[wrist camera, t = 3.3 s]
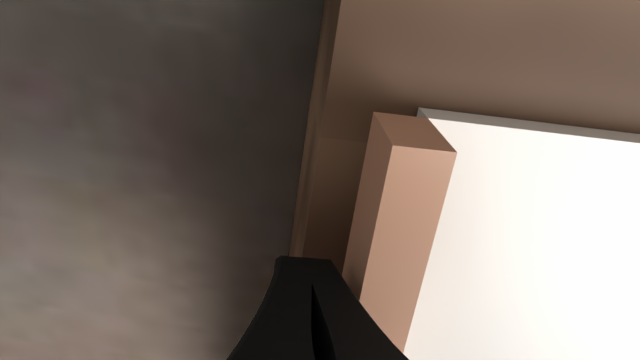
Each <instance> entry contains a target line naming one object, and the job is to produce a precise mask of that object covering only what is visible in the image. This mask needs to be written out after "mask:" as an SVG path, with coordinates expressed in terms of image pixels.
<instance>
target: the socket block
mask: <svg viewBox="0 0 640 360" xmlns="http://www.w3.org/2000/svg"><path fill="white" fill-rule="evenodd" d="M419 107H420V108H428V109H436V110H445V111H453V112H461V113H469V114H478V115H486V116H494V117H502V118H511V119H519V120H527V121H535V122H544V123H552V124H560V125H569V126H577V127H585V128H593V129H602V130H610V131H618V132H626V133H635V134H640V0H324V8H323V15H322V22H321V29H320V36H319V43H318V50H317V57H316V65H315V72H314V79H313V86H312V93H311V100H310V107H309V114H308V122H307V129H306V136H305V143H304V150H303V157H302V164H301V171H300V179H299V186H298V193H297V200H296V207H295V214H294V221H293V228H292V236H291V243H290V250H289V256H292V257H305V258H318V259H331V261H332V262H333V263H334V264H335V266H336V268H337V269H338V271H339V272H340V274H341V275H342V272H343V267H344V262H345V257H346V251H347V246H348V241H349V236H350V231H351V226H352V220H353V215H354V210H355V205H356V200H357V194H358V189H359V184H360V179H361V174H362V169H363V163H364V158H365V153H366V148H367V143H368V137H369V132H370V127H371V122H372V117H373V112H380V113H389V114H397V115H405V116H414V117H416V116H417V112H418V108H419Z"/></svg>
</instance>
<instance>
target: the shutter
mask: <svg viewBox="0 0 640 360" xmlns="http://www.w3.org/2000/svg"><path fill="white" fill-rule="evenodd" d="M342 277H343V278H344V280H345V281H346V283H347V284H348V286H349V287H350V289H351V290H352V292H353V293H354V295H355V296H356V297H357V299H358V300H359V302H360V303H361V304H362V306H363V307H364V308H365V310H366V311H367V312H368V314H369V315H370V316H371V317H372V319H373V320H374V321H375V323H376V324H377V325H378V326H379V327H380V329H381V330H382V331H383V332H384V333H385V335H386V336H387V337H388V338H389V339H390V340H391V341H392V343H393V344H394V345H395V346H396V347H397V348H398V349H399V350H400V351H401V352H402V353H403V354H404V355H405V356H406V357H407V358H408V359H409V360H640V134H635V133H626V132H618V131H610V130H602V129H593V128H585V127H577V126H569V125H560V124H552V123H544V122H535V121H527V120H519V119H511V118H502V117H494V116H486V115H478V114H469V113H461V112H453V111H445V110H436V109H428V108H420V107H419V108H418V112H417V116H416V117H414V116H405V115H397V114H389V113H380V112H373V117H372V122H371V127H370V132H369V137H368V143H367V148H366V153H365V158H364V163H363V169H362V174H361V179H360V184H359V189H358V194H357V200H356V205H355V210H354V215H353V220H352V226H351V231H350V236H349V241H348V246H347V251H346V257H345V262H344V267H343V272H342Z"/></svg>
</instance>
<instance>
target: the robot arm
mask: <svg viewBox="0 0 640 360" xmlns="http://www.w3.org/2000/svg"><path fill="white" fill-rule="evenodd" d="M227 360H409V359H408V358H407V357H406V356H405V355H404V354H403V353H402V352H401V351H400V350H399V349H398V348H397V347H396V346H395V345H394V344H393V343H392V341H391V340H390V339H389V338H388V337H387V336H386V335H385V333H384V332H383V331H382V330H381V329H380V327H379V326H378V325H377V324H376V323H375V321H374V320H373V319H372V317H371V316H370V315H369V314H368V312H367V311H366V310H365V308H364V307H363V306H362V304H361V303H360V302H359V300H358V299H357V297H356V296H355V295H354V293H353V292H352V290H351V289H350V287H349V286H348V284H347V283H346V281H345V280H344V278H343V277H342V275H341V274H340V272H339V271H338V269H337V268H336V266H335V264H334V263H333V262H332V261H331V259H318V258H305V257H292V256H280V257H279V258H277V259H276V261H275V269H274V275H273V278H272V281H271V283H270V286H269V289H268V291H267V293H266V295H265V297H264V300H263V302H262V304H261V306H260V308H259V310H258V312H257V314H256V315H255V317H254V319H253V320H252V322H251V324H250V326H249V327H248V329H247V331H246V332H245V334H244V335H243V337H242V338H241V340H240V342H239V343H238V344H237V346H236V347H235V349H234V350H233V352H232V353H231V354H230V356H229V357H228V358H227Z"/></svg>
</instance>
